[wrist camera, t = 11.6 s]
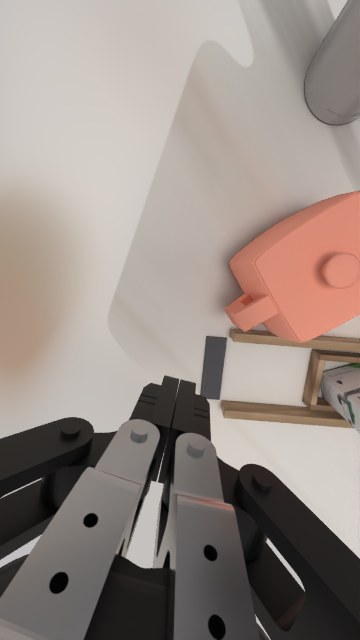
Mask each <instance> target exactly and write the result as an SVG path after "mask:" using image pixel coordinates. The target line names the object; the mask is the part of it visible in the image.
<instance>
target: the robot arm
mask: <svg viewBox="0 0 360 640" xmlns="http://www.w3.org/2000/svg"><path fill="white" fill-rule="evenodd" d="M305 96H306V101H307V104H308V106H309V108H310V110H311V111H312V112H313V114H314V115H315V116H316V117H317V118H318V119H320V120H321V121H323V122H325V123H328V124H332V125H342V124H346V123H350V122H352V121H354V120H356V119H357V118H358V117H360V0H348V1H347V3H346V4H345V6H344V8H343V9H342V11H341V12H340V14H339V16H338V17H337V19H336V21H335V22H334V24H333V25H332V27H331V29H330V30H329V32H328V34H327V35H326V37H325V38H324V41H323V44H322V46H321V48H320V49H319V51H318V53H317V54H316V56H315V57H314V59H313V61H312V63H311V64H310V66H309V68H308V71H307V74H306V79H305ZM178 384H179V379H177V378H173V377H169V376H164V379H163V382H162V385H157V384H153V383H150V384H148V385H147V386H145V387H144V388H143V391H142V393H141V395H140V397H139V400H138V402H137V404H136V406H135V408H134V411H133V413H132V415H131V417H130V419H129V421H127V422H125V423H123V424H122V425H121V427H120V428H119V430H118V431H115V432H110V433H94V429H93V426H92V425H91V424H90V423H89V422H88V421H86V420H84V419H81V418H76V417H69V418H63V419H60V420H57V421H54V422H51V423H48V424H45V425H42V426H38V427H35V428H32V429H29V430H26V431H23V432H20V433H17V434H14V435H11V436H8V437H4V438H2V439H0V498H1V497H2V496H4V495H5V494H8V493H10V492H12V491H14V490H16V489H18V488H20V487H22V486H25V485H27V484H29V483H31V482H33V481H35V480H38V479H40V478H42V479H41V480H39V481H37V482H35V483H33V484H31V485H29V486H26V487H24V488H22V489H20V490H18V491H16V492H14V493H12V494H9V495H7V496H5V497H3V498H1V499H0V560H1V559H2V558H4V557H5V556H7V555H9V554H10V553H12V552H14V551H15V550H17V549H18V548H20V547H22V546H23V545H25V544H26V543H28V542H30V541H31V540H33V539H35V538H36V537H38V536H39V535H41V534H42V536H41V537H40V539H39V540H38V542H37V543H36V545H35V546H34V548H33V549H32V551H31V552H30V554H28V555H25V556H23V557H21V558H18V559H16V560H14V561H12V562H10V563H8V564H6V565H4V566H3V567H1V568H0V640H269V638H268V637H267V636H266V634H265V633H264V631H263V630H262V629H261V627H260V626H259V625H258V624H257V622H256V617H255V615H256V616H257V618H258V619H259V621H260V623H261V624H262V626H263V627H264V629H265V631H266V632H267V634H268V636H269V637H270V639H271V640H360V559H359V558H358V557H357V556H356V555H355V554H354V553H353V552H352V551H351V550H350V549H349V548H348V547H347V546H346V545H345V544H344V543H343V542H342V541H341V540H340V539H339V538H338V537H337V536H336V535H335V534H334V533H333V532H332V531H331V530H330V529H329V528H328V527H327V526H326V525H325V524H324V523H323V522H322V521H321V520H320V519H319V518H318V517H317V516H316V515H315V514H314V513H313V512H312V511H311V510H310V509H309V508H308V507H307V506H306V505H305V504H304V503H303V502H302V501H301V500H300V499H299V498H298V497H297V496H296V495H295V494H294V493H293V492H292V491H291V490H290V489H289V488H288V487H287V486H286V485H285V484H283V483H282V482H281V481H280V480H279V479H278V478H277V477H276V476H275V475H274V474H273V473H272V472H271V471H269V470H268V469H266V468H264V467H262V466H259V465H256V464H247V465H244V466H243V467H242V468H241V469H240V471H239V470H237V469H235V468H233V467H231V466H229V465H228V464H226V463H224V462H223V461H222V460H221V459H219V458H218V456H217V454H216V449H215V447H214V445H213V444H212V443H211V432H210V413H209V412H210V405H209V402H208V401H207V399H206V398H205V396H201V395H197V394H195V390H196V383H193V382H189V381H185V380H180V384H179V388H178ZM177 389H178V392H177ZM176 394H177V396H176ZM175 399H176V400H175ZM164 449H165V450H164ZM163 453H164V456H163ZM162 457H163V460H162ZM161 461H162V465H161V470H160V475H159V480H158V482H159V483H163V484H164V487H163V492H162V496H161V500H160V504H159V511H158V520H157V530H156V541H155V550H154V560H153V568H147V569H146V568H141V567H139V566H137V565H135V564H134V563H132V562H131V561H129V560H128V559H126V555H127V552H128V549H129V546H130V543H131V540H132V537H133V534H134V531H135V528H136V524H137V521H138V518H139V515H140V512H141V509H142V506H143V503H144V500H145V496H146V495H147V493H148V491H149V487H150V483H151V481H155V482H156V480H157V477H158V473H159V469H160V464H161ZM267 538H269V540H270V541H271V542H272V543H273V545H274V546H275V547H276V549H277V550H278V551H279V552H280V554H281V555H282V556H283V557H284V559H285V560H286V561H287V562H288V564H289V565H290V566H291V567H292V569H293V570H294V571H295V572H296V574H297V575H298V576H299V578H300V580H301V582H302V584H303V586H304V589H305V591H304V590H303V589H302V588H301V586H300V585H299V584H298V583H297V581H296V580H295V579H294V578H293V576H292V575H291V574H290V573H289V571H288V570H287V569H286V567H285V566H284V565H283V563H282V562H281V561H280V560H279V558H278V557H277V556H276V555H275V553H274V552H273V551H272V549H271V548H270V547H269V546H268V544H267V543H266V541H267Z"/></svg>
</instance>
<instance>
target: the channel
mask: <svg viewBox="0 0 360 640" xmlns="http://www.w3.org/2000/svg"><path fill="white" fill-rule="evenodd" d="M230 337H231V339H232V340H233V341H234V342H243V343H256V344H268V345H280V346H292V347H305V348H317V349H329V350H341V351H354V352H360V339H353V338H341V337H328V336H318V337H316V338H313V339H311V340H309V341H306V342H302V343H299V342H295V341H291V340H287V339H284V338H281V337H279V336H276V335H275V334H273V333H271V332H267V331H255V330H248V331H246V332H244V331H243V330H242V329H231V331H230ZM221 409H222V412H223V416H224V418H232V419H244V420H257V421H269V422H282V423H294V424H307V425H319V426H332V427H344V428H354V427H353V426H352V425H351V424H350V423H349V422H348V421H347V420H346V419H345V418H344V417H343V416H342V415H341V414H340V413H339V412H335V411H323V410H310V409H309V408H308V407H298V406H285V405H273V404H260V403H248V402H235V401H223V400H222V404H221Z"/></svg>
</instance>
